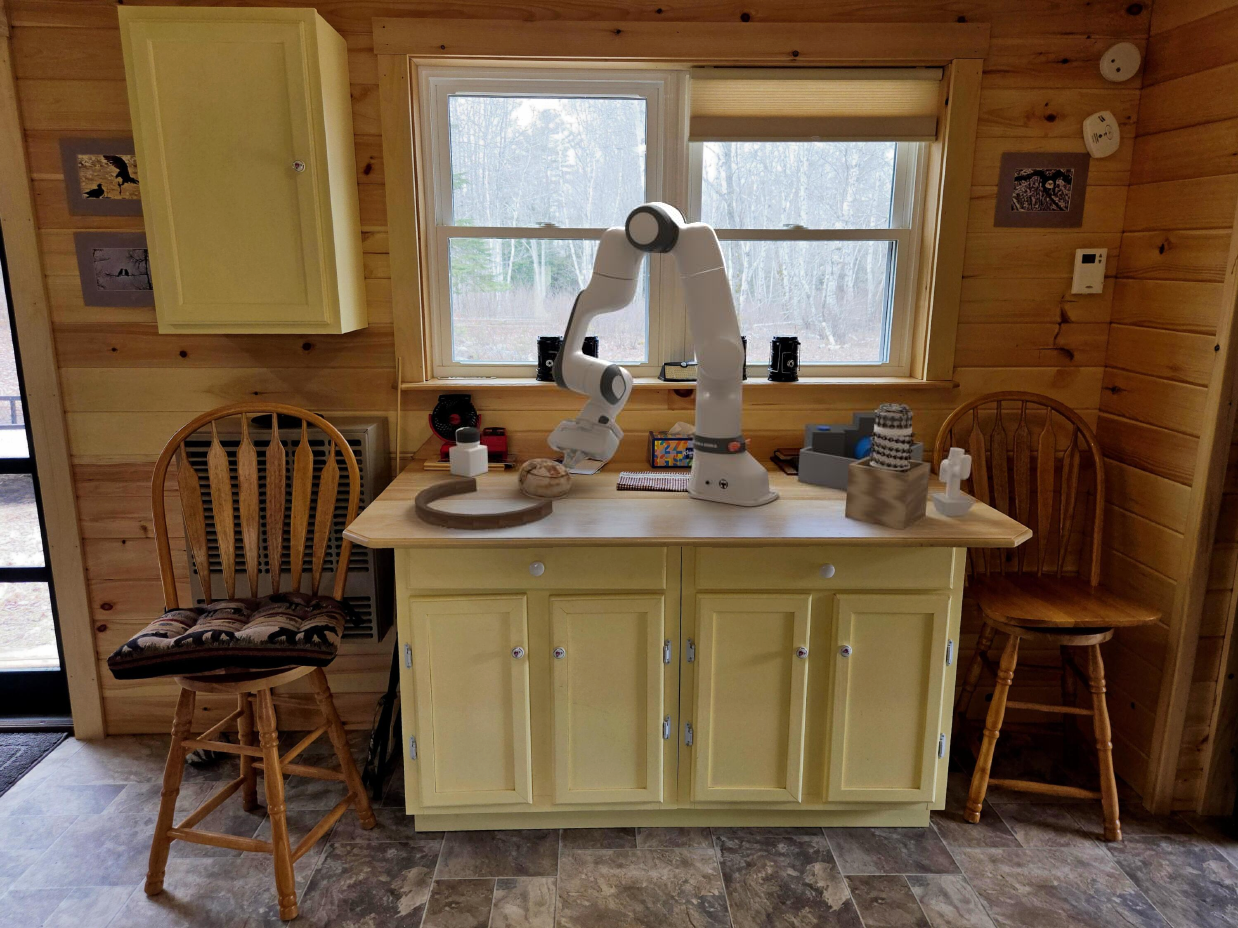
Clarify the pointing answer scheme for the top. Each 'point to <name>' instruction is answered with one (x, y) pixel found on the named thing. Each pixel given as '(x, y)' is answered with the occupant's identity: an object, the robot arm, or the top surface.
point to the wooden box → (887, 493)
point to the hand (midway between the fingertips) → (567, 467)
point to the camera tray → (834, 467)
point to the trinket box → (544, 479)
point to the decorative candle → (892, 438)
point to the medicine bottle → (468, 454)
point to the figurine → (953, 484)
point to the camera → (843, 437)
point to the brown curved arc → (473, 520)
